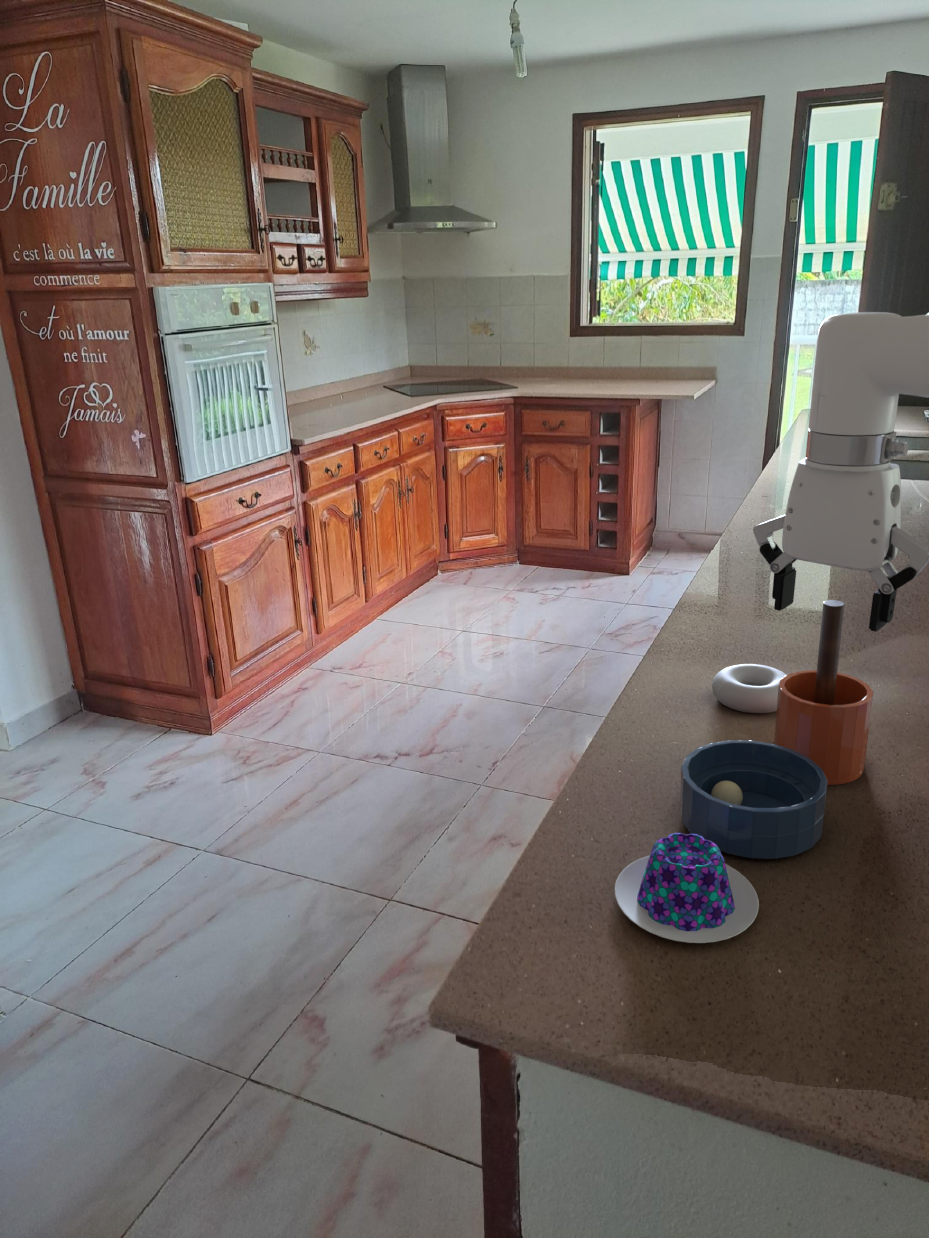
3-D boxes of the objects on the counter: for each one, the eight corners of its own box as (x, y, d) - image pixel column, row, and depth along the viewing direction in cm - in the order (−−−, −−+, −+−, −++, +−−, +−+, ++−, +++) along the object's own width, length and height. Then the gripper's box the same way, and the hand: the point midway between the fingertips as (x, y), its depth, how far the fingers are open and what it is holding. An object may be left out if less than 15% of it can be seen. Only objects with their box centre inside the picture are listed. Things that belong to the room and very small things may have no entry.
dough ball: (747, 807, 88) (749, 781, 87) (732, 821, 86) (734, 794, 84) (719, 797, 90) (721, 771, 88) (704, 810, 88) (706, 784, 86)
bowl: (843, 816, 86) (849, 767, 84) (785, 882, 77) (789, 829, 75) (720, 773, 95) (722, 727, 93) (654, 828, 86) (655, 779, 84)
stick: (831, 757, 96) (847, 602, 89) (823, 765, 94) (839, 607, 88) (812, 752, 97) (828, 598, 91) (805, 759, 96) (820, 603, 89)
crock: (876, 758, 96) (886, 683, 93) (843, 794, 90) (852, 715, 87) (794, 734, 102) (801, 663, 99) (758, 766, 96) (763, 691, 93)
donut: (810, 702, 110) (744, 676, 117) (813, 677, 108) (746, 652, 116) (760, 727, 104) (694, 698, 112) (763, 701, 103) (695, 674, 111)
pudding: (612, 943, 71) (613, 890, 69) (615, 854, 82) (616, 806, 80) (767, 956, 69) (772, 901, 67) (749, 863, 80) (753, 814, 78)
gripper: (959, 451, 81) (931, 624, 87) (778, 436, 92) (765, 590, 98) (932, 465, 76) (905, 648, 82) (745, 447, 87) (733, 609, 93)
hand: (829, 616), depth 90 cm, fingers open, 9 cm apart
